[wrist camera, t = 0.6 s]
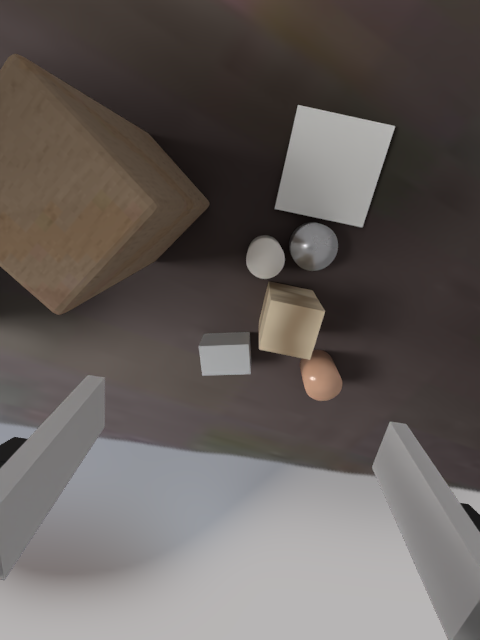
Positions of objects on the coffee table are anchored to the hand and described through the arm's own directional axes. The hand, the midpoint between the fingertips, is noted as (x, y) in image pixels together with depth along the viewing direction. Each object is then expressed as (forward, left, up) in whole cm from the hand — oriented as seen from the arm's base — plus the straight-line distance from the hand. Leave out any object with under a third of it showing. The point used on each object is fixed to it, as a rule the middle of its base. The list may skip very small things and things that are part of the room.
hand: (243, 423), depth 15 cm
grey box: (-2, -9, -26) cm, 28 cm away
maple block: (+4, -2, -26) cm, 27 cm away
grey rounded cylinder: (0, +4, -26) cm, 27 cm away
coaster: (+5, +14, -26) cm, 30 cm away
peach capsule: (+10, -9, -26) cm, 30 cm away
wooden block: (-14, +7, -26) cm, 30 cm away
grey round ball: (+5, +6, -26) cm, 28 cm away
